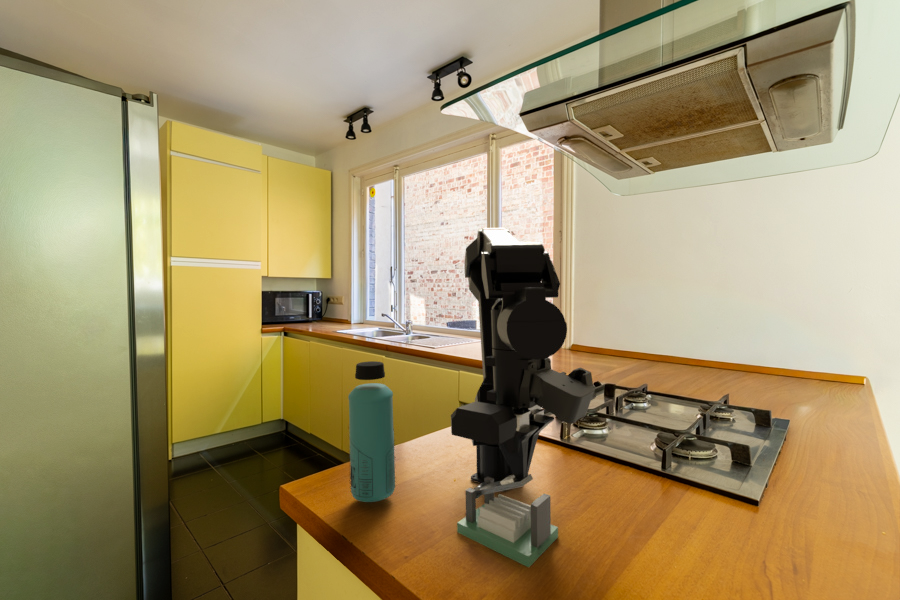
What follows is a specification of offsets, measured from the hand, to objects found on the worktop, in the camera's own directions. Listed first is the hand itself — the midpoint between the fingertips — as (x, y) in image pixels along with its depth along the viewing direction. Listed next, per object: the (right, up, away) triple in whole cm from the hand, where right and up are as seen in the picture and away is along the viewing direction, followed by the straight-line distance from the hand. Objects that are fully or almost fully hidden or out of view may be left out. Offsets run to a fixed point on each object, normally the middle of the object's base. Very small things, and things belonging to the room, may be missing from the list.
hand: (521, 479), depth 47 cm
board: (-1, -7, +1) cm, 8 cm away
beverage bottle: (-19, -8, +10) cm, 23 cm away
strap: (-2, -2, +2) cm, 3 cm away
